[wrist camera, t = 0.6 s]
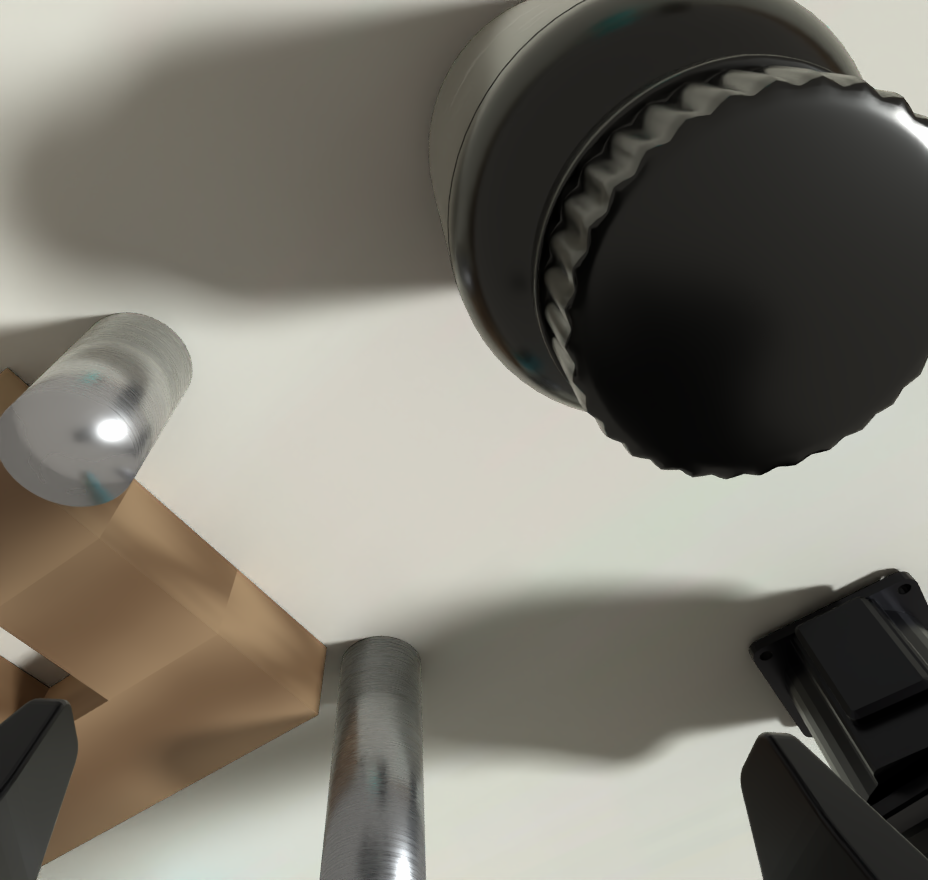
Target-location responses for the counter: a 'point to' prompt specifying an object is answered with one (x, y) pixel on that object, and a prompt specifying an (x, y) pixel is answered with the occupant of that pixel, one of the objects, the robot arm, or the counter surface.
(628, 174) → the supplement bottle
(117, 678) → the hole block
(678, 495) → the counter surface
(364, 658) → the long pin
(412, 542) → the counter surface
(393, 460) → the counter surface
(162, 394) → the short pin
